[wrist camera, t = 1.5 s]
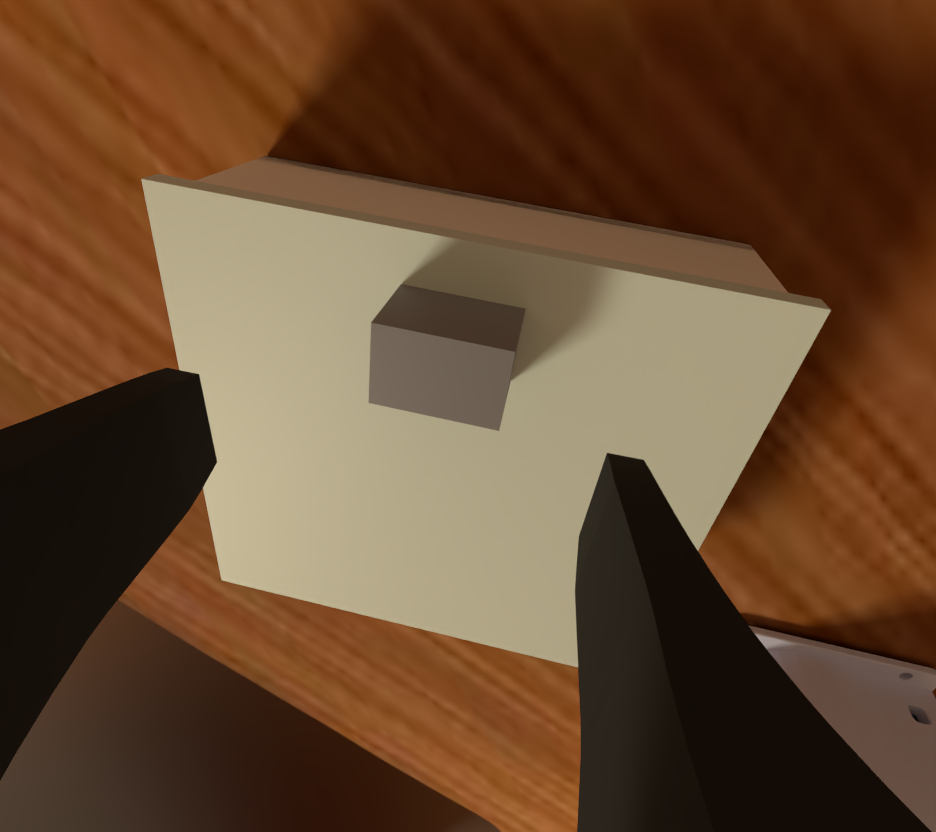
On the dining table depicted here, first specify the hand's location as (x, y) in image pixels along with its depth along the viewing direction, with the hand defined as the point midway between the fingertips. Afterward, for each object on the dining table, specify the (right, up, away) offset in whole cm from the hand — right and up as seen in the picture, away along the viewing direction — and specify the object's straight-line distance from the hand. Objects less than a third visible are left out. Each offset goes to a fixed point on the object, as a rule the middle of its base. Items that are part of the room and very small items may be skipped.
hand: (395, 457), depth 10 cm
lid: (0, -1, +7) cm, 7 cm away
